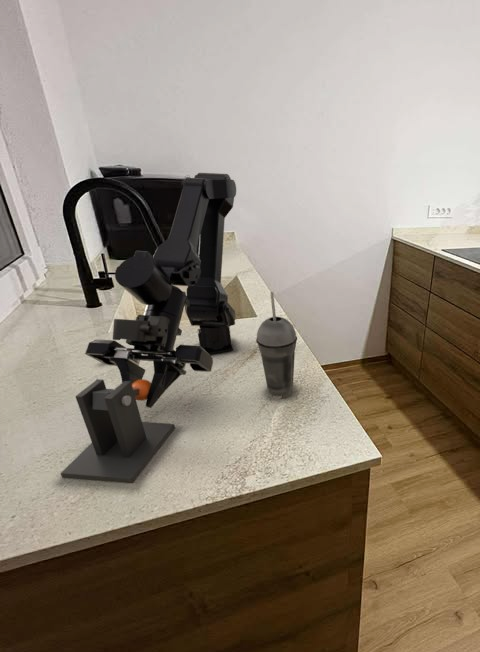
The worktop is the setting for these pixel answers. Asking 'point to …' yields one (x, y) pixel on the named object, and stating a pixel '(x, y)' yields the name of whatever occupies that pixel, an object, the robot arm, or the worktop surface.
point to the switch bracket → (115, 437)
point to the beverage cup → (277, 353)
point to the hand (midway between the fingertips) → (137, 406)
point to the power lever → (99, 402)
